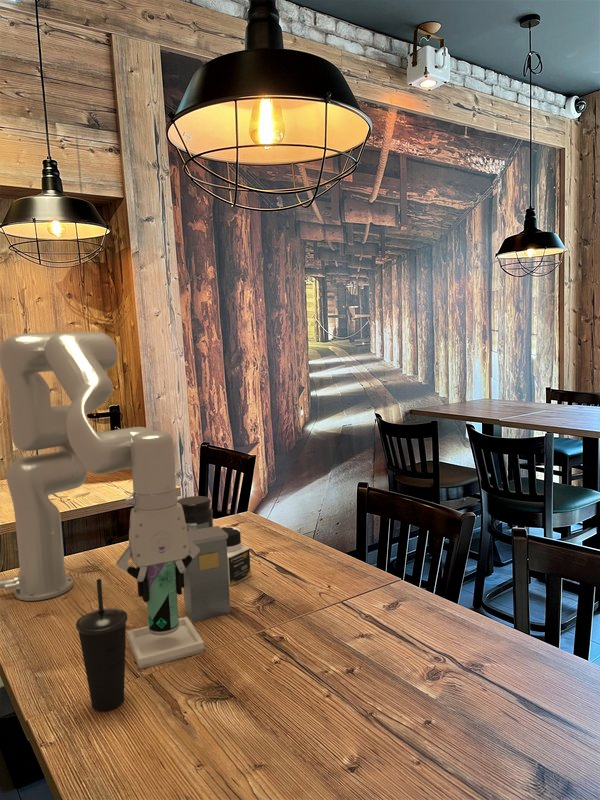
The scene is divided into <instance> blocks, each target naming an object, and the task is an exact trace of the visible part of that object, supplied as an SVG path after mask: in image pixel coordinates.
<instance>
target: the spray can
mask: <svg viewBox="0 0 600 800" xmlns="http://www.w3.org/2000/svg"><path fill="white" fill-rule="evenodd" d="M163 549H165V546H164V544H162V545H159V550H163ZM159 552H160V551H159ZM163 552H165V551H163ZM163 552H160V553H163ZM145 578H146V580H147V583H148V597H149V601H148V602H146V608H147V609H146V610H147V623H148V625H147V626H149V632H150V633H151V634H153V635H159V636H160V635H167V634H171V633H173V632H175V631H176V630H177V629H178V628H179V617H180V616H179V606H178V603H179V602H178V594H177V586H176V570H175V561H174V562H164V563H160V564H157V565H154V566H148V567H147V570H146V574H145Z"/></svg>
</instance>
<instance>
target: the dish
mask: <svg viewBox="0 0 600 800" xmlns="http://www.w3.org/2000/svg"><path fill="white" fill-rule="evenodd" d="M126 631H127V634H126V635H127V641H128V643H129V646H130V649H131V651H132V654H133V656H134V659H135V661H136V664H137V667H138V669H139V670H141V669H145V668H149V667H154V666H156V665H160V664H164V663H168V662H172V661H174V660H175V661H176V660H179V659H183V658H186V657H189V656H194V655H197V654H202V653H205V642H204V640H203V639H202V637H201V636H200V634H199V632H198V631H197V629H196V628H195V627H194V625H193V622H192V621H191V619H190V618H189V616H183V617H180V618H179V628H178V629H177V630H176V631H175V632H173V633H171V634H167V635H160V636H159V635H153V634H151V633H150V632H149V625H147V626H142V627H137V628H135V629H129V630H126Z"/></svg>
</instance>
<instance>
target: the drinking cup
mask: <svg viewBox="0 0 600 800" xmlns="http://www.w3.org/2000/svg"><path fill="white" fill-rule="evenodd" d="M102 585H103V583H102V579H101V578H97V579H96V589H97V604H98V609H95V610H93V611H90V612H88V613H86V614H84V615H82V616H81V617H79V618H78V619H77V621H76V623H75V629H76V631H77V632H78V636H79V641H80V642H79V643H80V647H81V652H82V657H83V662H84V668H85V669H84V670H85V673H86V681H87V685H88V686H87V687H88V690H89V695H90V702H91V706H92V709H93V710H94V711H97V712H110V711H112V710H115V709H117V708H119V707H120V706H121V705H122V704H124V701H125V684H126V682H125V680H126V676H125V675H126V673H125V672H126V635H127V634H126V631H127V629H126V628H127V621H128V618H129V617H128V613H127V612H126V611H125V610H123V609H119V608H112V607H111V608H109V607H105V608H104V600H103V599H104V598H103V588H102V587H103V586H102Z"/></svg>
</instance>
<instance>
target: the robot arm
mask: <svg viewBox="0 0 600 800" xmlns="http://www.w3.org/2000/svg"><path fill="white" fill-rule="evenodd" d="M118 354H119V353H118V349H117V345H116V343H115V341H114V340H113V338H111V336H109V335H108V334H106V333H104V332H100V331H72V332H71V331H69V332H28V333H26V332H25V333H19V334H18V333H17V334H15V335H11V336H9V337H7V338H6V339H4V341H3V342H2V343H1V346H0V369H1V373H2V376H3V378H4V381H5V384H6V387H7V391H8V401H9V419H10V431H11V438H12V439H11V440H12V442H13V445H14V446H15V448H17V449H18V450H20V451H25V452H32V451H33V452H34V451H40V450H45V449H53V448H58V450H59V451H53V452H48V453H46V452H45V453H41V454H35V455H29V456H26V457H22V458H19V459H17V460H15V461H13V462H12V463H11V464H10V465H9V466H8V468H7V471H6V476H5V477H6V482H7V483H6V484H7V486H8V490H9V493H10V496H11V497H10V498H11V500H12V501H11V503H12V506H13V512H14V521H15V531H16V540H17V552H18V562H19V564H18V566H19V571H18V575H14V576H13V577H10V578H3V579H0V590H1V589H4V591H9V590H13V589H14V591H13V593H14V597H15V599H17V600H21V601H25V602H26V601H27V602H29V601H30V602H35V601H43V600H48V599H52V598H55V597H59V596H61V595H63V594H65V593H66V592H68V591H70V590H71V589H72V587H73V586H74V579H73V578H72V577H71V576H69V575H66V567H65V565H66V564H65V554H64V553H65V552H64V542H63V541H64V540H63V529H62V528H63V527H62V517H61V512H60V509H59V508H58V506H57V505H56V504H54V503H53V501H52V500H50V498H49V496H51V495H55V494H59V493H62V492H67V491H70V490H75V489H76V488H77V489H78V488H79V487H82V486H83V484H84V483H85V482H86V480H87V476H88V475H87V474H88V471H89V472H90V473H92V474H95V475H105V474H109V473H115V472H118V471H123V470H129V469H131V474H132V490H133V491H132V494H131V495H130V496H129V497H125V505H126V506H128V505H130V506H133V507H132V508H131V509H130V516H129V526H128V529H129V530H128V546H127V547H126V549H125V550H124V551H123V553H122V554H121V555H120V557H119V558H118V560H117V561H116V566H117V567H118V568H119V569H120V570H122V571H123V572H125V573H127V574H129V576H131V577H133V578H134V579H135V580H136V581H137V582H136V583H137V594H138V597H139V598H142V600H143V602H144V603H147V602H148V601H149V597H148V583H147V580H146V578H145V574H146V570H147V567H148V566H154V565H157V564H160V563H164V562H174V561H175V570H176V586H177V595H182V594H183V587H184V572H185V570H186V568H187V566H188V565H189V564H190V563H191V561H192V559H193V558H194V557H195V556H196V555H197V554H198V553H199V551H200V548H199V547H198V546H197V545H195V544H194V543H193V542H192V541H191V540H190V539H189V538H188V536H187V528H186V522H185V516H184V512H183V508H182V505H181V504H180V503H178V502H177V500H178V498H177V483H176V467H175V453H174V439H173V436H172V434H170V432H168V431H165V430H164V431H163V430H152V429H151V428H147V427H145V426H132V427H127V428H119V429H114V430H113V429H112V430H107V431H101V432H97V431H96V430H95V429H94V427H93V425H92V423H91V422H90V421H89V419H88V416H87V415H89V414H90V413H92V412H94V411H95V410H97V409H98V408H100V407H101V406H103V405H104V404H106V402H107V401H108V400H109V399H110V398H111V396H112V394H113V392H114V385H113V384H114V383H113V382H112V380H111V379H110V377H109V375H108V373H106V371H109V370H111V369H113V367H115V365H116V364H117V361H118V357H119V355H118ZM44 372H46V373H47V372H48V373H49V372H53V374H54V376H55V377H56V379H57V380H58V382H59V383H60V385H61V387H62V388H63V390H64V392H65V393H66V395H67V396H68V398H69V400H70V401H71V404H70V405H69V404H68V405H67V404H62V405H53V406H52V402H51V401H52V399H51V389H50V386H49V384H48V382H47V381H46V380H45V378H44V377H43V376H42V375H41V374H40V373H44ZM162 544H164V546H165V549H163V550H159V545H162ZM183 547H184V548H183ZM159 551H160V552H163V551H165V552H163V553H160V552H159ZM130 559H131V561H132V563H133V565H134V566H133V565H132V564H129V563H128V562H129V560H130Z"/></svg>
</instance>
